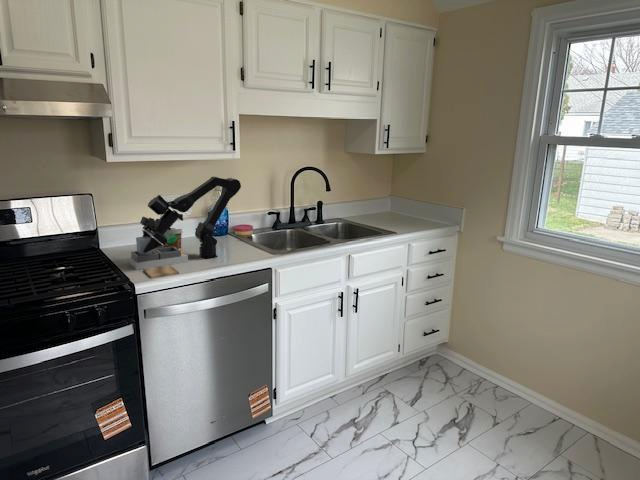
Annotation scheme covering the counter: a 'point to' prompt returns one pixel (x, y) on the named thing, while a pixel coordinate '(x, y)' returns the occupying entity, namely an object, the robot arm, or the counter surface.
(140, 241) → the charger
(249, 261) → the counter surface
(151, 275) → the walnut board
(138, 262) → the power strip
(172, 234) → the food container
